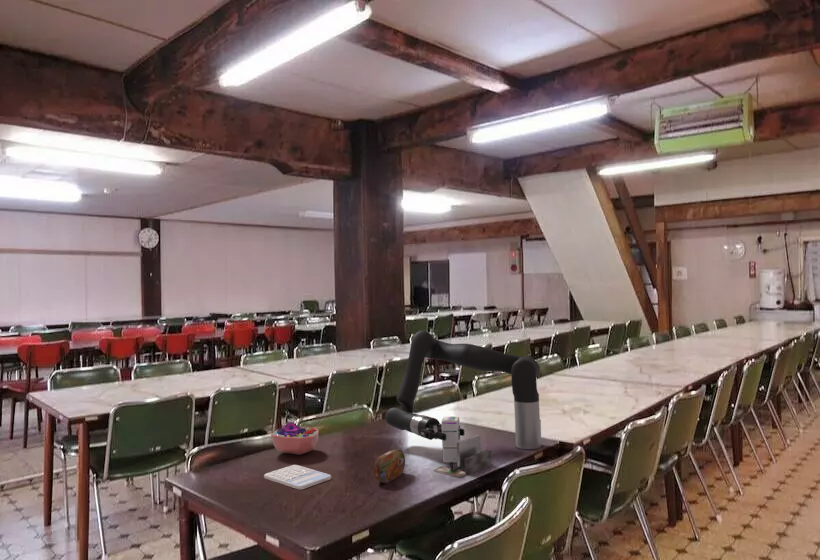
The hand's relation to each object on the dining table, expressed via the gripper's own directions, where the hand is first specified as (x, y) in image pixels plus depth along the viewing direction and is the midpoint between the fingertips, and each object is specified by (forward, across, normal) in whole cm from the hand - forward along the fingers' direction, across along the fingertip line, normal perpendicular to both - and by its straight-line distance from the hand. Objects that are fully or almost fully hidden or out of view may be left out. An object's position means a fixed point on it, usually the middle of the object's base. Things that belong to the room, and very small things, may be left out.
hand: (454, 435), depth 196 cm
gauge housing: (+4, 0, +10) cm, 11 cm away
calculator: (-26, -47, +11) cm, 54 cm away
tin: (-4, -25, +10) cm, 27 cm away
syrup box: (-2, 0, +9) cm, 9 cm away
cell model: (-52, -34, +11) cm, 63 cm away
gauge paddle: (+6, -1, +9) cm, 11 cm away
